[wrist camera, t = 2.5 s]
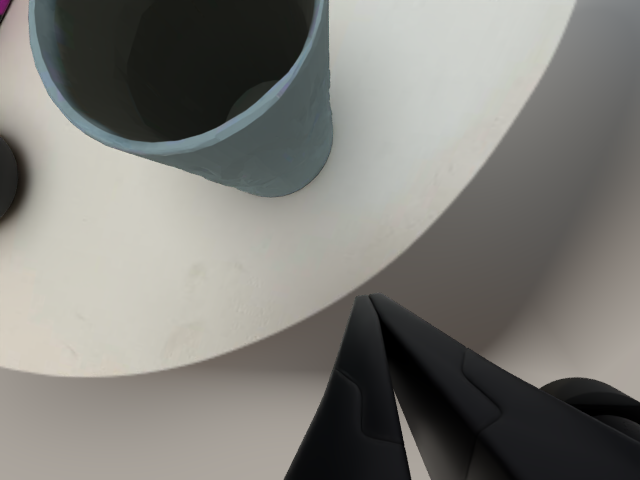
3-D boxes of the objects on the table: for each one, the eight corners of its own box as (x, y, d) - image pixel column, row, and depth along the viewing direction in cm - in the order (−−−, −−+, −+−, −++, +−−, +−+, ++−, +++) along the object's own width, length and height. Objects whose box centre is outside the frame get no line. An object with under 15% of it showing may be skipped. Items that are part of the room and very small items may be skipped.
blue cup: (190, 181, 22) (-11, 107, 10) (233, 49, 22) (76, -189, 10) (319, 224, 21) (262, 196, 9) (366, 83, 20) (373, -145, 8)
